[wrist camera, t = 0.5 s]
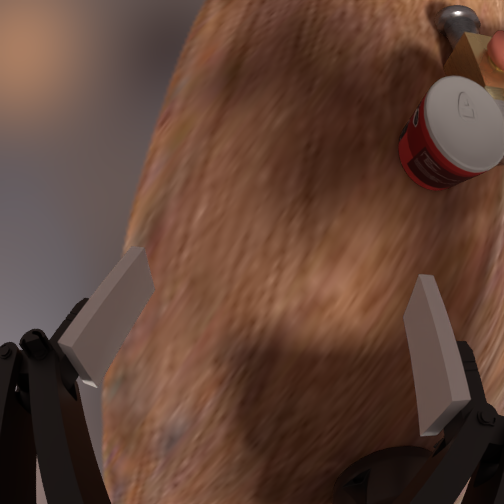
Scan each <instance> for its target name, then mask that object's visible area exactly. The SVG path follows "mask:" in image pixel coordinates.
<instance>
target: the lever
mask: <svg viewBox="0 0 504 504" xmlns="http://www.w3.org/2000/svg"><path fill="white" fill-rule="evenodd" d="M487 51H488V54H489V56H490V58H491V59H492V61H493V62H494V63H495V65H496V66H497V67H498V68H500V69H501V70H502V71H504V31H501V30H500V31H497V32H496V33H495V34H494V36H493V37H492V38H491V40H490V41H489V42H488V44H487Z"/></svg>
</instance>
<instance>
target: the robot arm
mask: <svg viewBox="0 0 504 504" xmlns="http://www.w3.org/2000/svg"><path fill="white" fill-rule="evenodd" d="M154 291H155V288H154V284H153V280H152V276H151V272H150V268H149V264H148V260H147V256H146V251H145V248H144V247H134V246H132V247H131V248H130V249H129V250H128V251H127V253H126V254H125V255H124V256H123V257H122V259H121V260H120V261H119V262H118V263H117V265H116V266H115V267H114V268H113V270H112V271H111V272H110V273H109V274H108V276H107V277H106V278H105V279H104V281H103V282H102V283H101V284H100V286H99V287H98V288H97V290H96V291H95V292H94V293H93V295H92V296H91V297H90V299H89V298H84V299H83V300H81V301H80V302H79V303H77V304H76V305H75V307H74V308H73V309H72V311H71V312H70V314H68V316H67V317H66V319H65V320H64V321H63V322H62V324H61V325H60V326H59V328H58V329H57V330H56V332H55V333H54V335H53V336H52V337H51V339H50V340H48V338H47V337H46V335H45V333H44V332H43V331H42V330H40V329H32V330H30V331H28V332H26V334H24V335H23V337H22V338H21V340H20V343H19V345H20V346H21V348H22V349H23V350H19V348H18V347H17V346H16V344H14V343H13V342H7V343H5V344H3V345H2V346H0V504H36V458H38V463H39V469H40V473H41V478H42V483H43V487H44V491H45V495H46V499H47V503H48V504H111V502H110V499H109V496H108V494H107V491H106V488H105V485H104V482H103V479H102V476H101V473H100V470H99V467H98V464H97V461H96V457H95V454H94V451H93V447H92V443H91V440H90V436H89V432H88V428H87V424H86V421H85V416H84V411H83V407H82V402H81V397H80V393H79V387H78V384H77V382H76V379H77V378H78V376H80V378H81V379H82V381H83V382H84V383H86V384H89V385H91V386H94V387H97V388H98V386H99V385H100V383H101V381H102V379H103V377H104V376H105V374H106V372H107V370H108V368H109V367H110V365H111V363H112V361H113V360H114V358H115V356H116V354H117V353H118V351H119V349H120V347H121V346H122V344H123V342H124V341H125V339H126V337H127V335H128V334H129V332H130V330H131V329H132V327H133V325H134V324H135V322H136V320H137V319H138V317H139V315H140V314H141V312H142V310H143V309H144V307H145V305H146V304H147V302H148V301H149V299H150V297H151V296H152V294H153V292H154ZM403 320H404V325H405V330H406V335H407V340H408V346H409V351H410V357H411V363H412V370H413V377H414V384H415V391H416V399H417V408H418V418H419V428H420V436H431V435H437V434H438V433H440V432H441V431H442V430H443V429H444V435H445V436H444V437H443V438H442V439H441V440H440V441H439V442H438V443H437V444H436V445H435V446H434V448H435V450H434V451H433V453H432V452H430V451H428V450H426V449H423V448H419V447H411V446H404V447H394V448H389V449H385V450H381V451H378V452H375V453H373V454H370V455H368V456H366V457H364V458H362V459H360V460H358V461H357V462H355V463H354V464H352V465H351V466H350V467H348V468H347V469H346V470H345V471H344V472H343V473H342V474H341V475H340V477H339V478H338V480H337V481H336V483H335V485H334V489H333V500H332V504H454V502H455V501H456V499H457V498H458V496H459V495H460V493H461V491H462V490H463V488H464V487H465V485H466V484H467V482H468V480H469V479H470V481H469V484H468V487H467V489H466V492H465V495H464V497H463V500H462V502H461V504H504V416H501V415H498V413H497V411H496V409H495V408H494V407H493V406H492V405H490V404H488V403H487V401H486V398H485V394H484V390H483V386H482V382H481V378H480V375H479V371H478V368H477V364H476V363H475V357H474V354H473V351H472V349H471V348H470V347H469V345H468V344H467V342H466V341H456V340H455V336H454V333H453V330H452V327H451V324H450V321H449V318H448V315H447V312H446V309H445V306H444V303H443V300H442V297H441V295H440V292H439V289H438V286H437V284H436V281H435V279H434V276H433V275H424V274H419V275H418V278H417V281H416V284H415V287H414V289H413V292H412V295H411V298H410V300H409V303H408V305H407V308H406V311H405V313H404V316H403ZM16 386H17V390H16V391H15V389H16ZM470 477H471V478H470Z"/></svg>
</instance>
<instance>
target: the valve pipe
mask: <svg viewBox="0 0 504 504" xmlns="http://www.w3.org/2000/svg"><path fill="white" fill-rule="evenodd" d="M435 23H436V26H437V28H438V30H439V32H440V33H441V34H442V35H443V36H445V37H448V39H449V42H450V44H451V46H452V49H453V52H452V53H451V55H450V57H449V58H448V60H447V62H446V63H445V65H444V66H443V68H444V71H445V74H446V77H447V76H461V77H465V78H468V79H470V80H472V81H474V82H476V83H477V84H479V85H480V86H482V87H483V88H484V89H485V90H486V91H487V92H488V93H489V94H490V95H491V96H492V97H493V99H494V100H495V101H496V103H497V104H498V106H499V108H500V109H501V112H502V114H503V116H504V71H502V70H501V69H500V68H498V67H497V66H496V65H495V63H494V62H493V61H492V59H491V58H490V56H489V54H488V51H487V44H488V42H489V41H490V40H491V38H492V37H490V36H485V35H480V33H479V31H478V30H479V29H480V21H479V19H478V17H477V15H476V13H475V12H474V11H473V10H472V9H470V8H469V7H466V6H461V5H454V6H449V7H446V8H443V9H442V10H440V11H439V12H438V13H437V14H436V16H435ZM499 165H504V156H503V158H502V159H501V161H500V162H499V163H498V164H497V165H495V166H499Z"/></svg>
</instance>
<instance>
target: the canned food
mask: <svg viewBox="0 0 504 504" xmlns="http://www.w3.org/2000/svg"><path fill="white" fill-rule="evenodd" d="M399 156H400V160H401V163H402V166H403V168H404V170H405V172H406V173H407V174H408V176H409V177H410V178H411V179H412V180H413V181H414V182H415V183H417V184H418V185H420V186H422V187H424V188H426V189H429V190H435V191H436V190H444V189H447V188H449V187H452V186H454V185H456V184H459V183H461V182H463V181H466V180H468V179H470V178H473V177H475V176H478V175H480V174H482V173H484V172H486V171H488V170H490V169H491V168H493V167H494V166H495V165H497V164H498V163H499V162H500V161H501V159H502V158H503V156H504V116H503V114H502V112H501V109H500V108H499V106H498V104H497V103H496V101H495V100H494V99H493V97H492V96H491V95H490V94H489V93H488V92H487V91H486V90H485V89H484V88H483V87H482V86H480V85H479V84H477V83H476V82H474V81H472V80H470V79H468V78H465V77H461V76H447V77H444V78H441V79H439V80H438V81H437V82H436V83H434V85H432V86H431V88H430V89H429V91H428V92H427V93H426V95H425V96H424V98H423V99H422V101H421V103H420V104H419V106H418V107H417V109H416V110H415V112H414V114H413V115H412V117H411V118H410V120H409V121H408V123H407V124H406V126H405V127H404V129H403V130H402V133H401V135H400V138H399Z"/></svg>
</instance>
